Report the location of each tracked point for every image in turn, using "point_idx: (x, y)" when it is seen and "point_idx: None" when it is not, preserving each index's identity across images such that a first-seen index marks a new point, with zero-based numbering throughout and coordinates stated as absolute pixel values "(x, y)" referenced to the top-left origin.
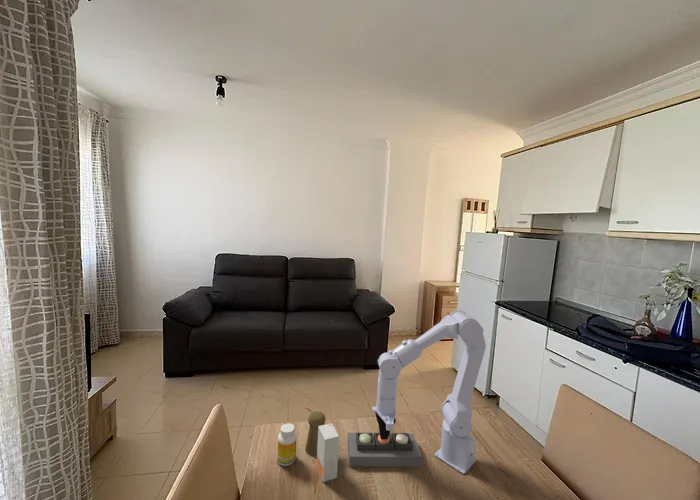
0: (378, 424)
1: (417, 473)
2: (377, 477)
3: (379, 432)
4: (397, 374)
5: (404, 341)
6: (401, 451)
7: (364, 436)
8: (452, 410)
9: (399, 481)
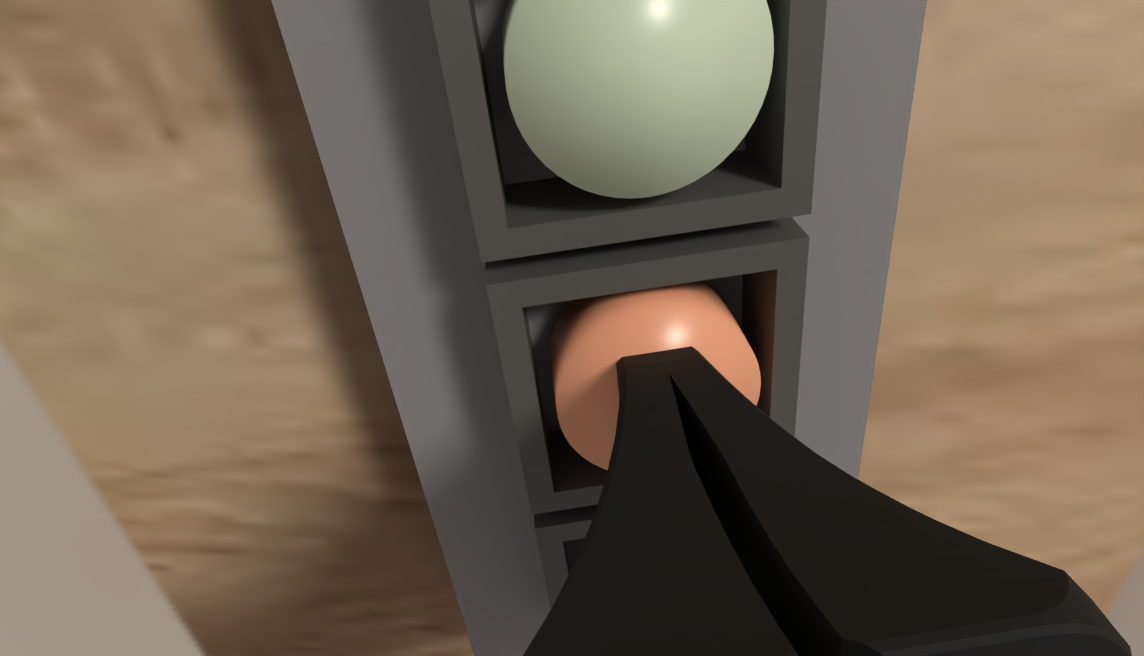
0: (803, 447)
1: (392, 557)
2: (190, 200)
3: (692, 385)
4: None
5: None
6: (528, 525)
7: (674, 47)
8: None
9: (229, 422)
